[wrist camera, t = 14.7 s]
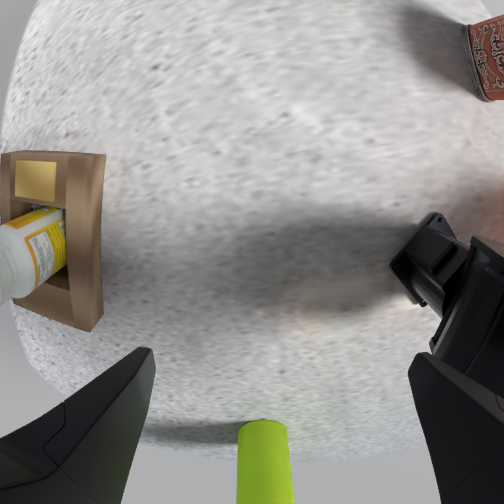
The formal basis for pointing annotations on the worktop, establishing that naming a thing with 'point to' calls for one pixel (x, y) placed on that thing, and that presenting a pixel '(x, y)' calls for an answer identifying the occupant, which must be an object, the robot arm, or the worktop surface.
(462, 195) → the worktop surface
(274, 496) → the soap dispenser
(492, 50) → the lighter
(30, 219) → the supplement bottle
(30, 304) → the socket block
